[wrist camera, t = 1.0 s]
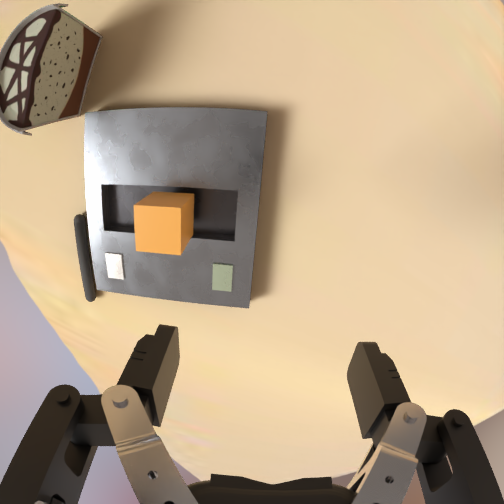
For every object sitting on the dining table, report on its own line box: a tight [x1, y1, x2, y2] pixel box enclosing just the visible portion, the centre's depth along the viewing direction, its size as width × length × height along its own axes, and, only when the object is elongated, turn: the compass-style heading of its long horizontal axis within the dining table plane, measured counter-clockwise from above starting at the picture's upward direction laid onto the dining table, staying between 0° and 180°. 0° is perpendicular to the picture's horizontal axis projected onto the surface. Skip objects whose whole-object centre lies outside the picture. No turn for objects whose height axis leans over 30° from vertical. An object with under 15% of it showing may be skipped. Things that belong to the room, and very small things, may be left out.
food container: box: [0, 3, 103, 135], centre depth 20 cm, size 12×6×10 cm, turn 162°
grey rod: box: [74, 214, 96, 302], centre depth 33 cm, size 11×1×1 cm, turn 175°
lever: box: [134, 192, 194, 255], centre depth 27 cm, size 4×4×7 cm
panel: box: [84, 107, 267, 308], centre depth 30 cm, size 20×18×2 cm
